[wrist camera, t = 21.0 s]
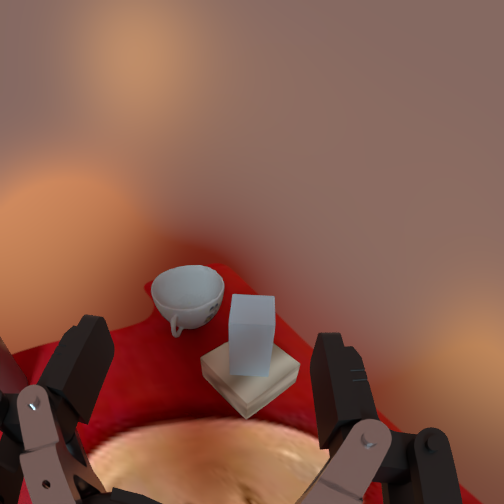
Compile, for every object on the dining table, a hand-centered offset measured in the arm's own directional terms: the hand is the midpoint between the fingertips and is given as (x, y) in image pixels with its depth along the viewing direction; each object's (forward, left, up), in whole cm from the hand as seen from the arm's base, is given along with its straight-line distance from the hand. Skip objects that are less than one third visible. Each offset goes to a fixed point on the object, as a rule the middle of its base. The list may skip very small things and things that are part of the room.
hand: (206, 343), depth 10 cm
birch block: (-8, +18, -30) cm, 36 cm away
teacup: (-23, +23, -30) cm, 44 cm away
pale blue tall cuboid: (-8, +18, -25) cm, 32 cm away
